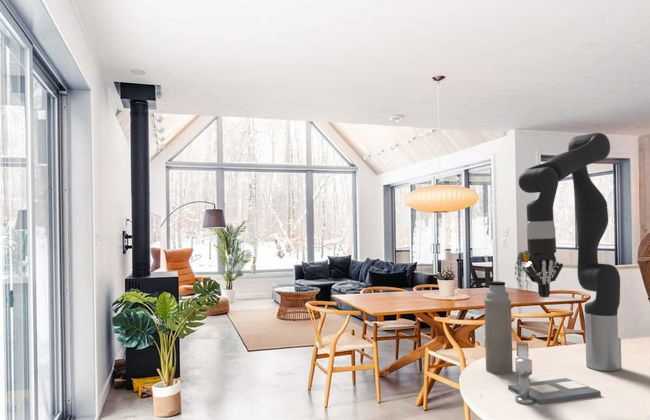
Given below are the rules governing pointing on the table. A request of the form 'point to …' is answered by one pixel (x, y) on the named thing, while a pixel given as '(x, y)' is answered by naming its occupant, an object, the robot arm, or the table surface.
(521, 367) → the swing arm
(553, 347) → the table surface
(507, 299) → the thermos bottle
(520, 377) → the post
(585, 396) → the label tray
